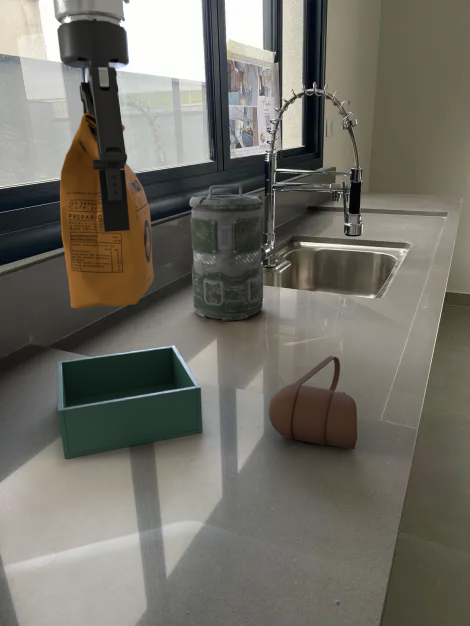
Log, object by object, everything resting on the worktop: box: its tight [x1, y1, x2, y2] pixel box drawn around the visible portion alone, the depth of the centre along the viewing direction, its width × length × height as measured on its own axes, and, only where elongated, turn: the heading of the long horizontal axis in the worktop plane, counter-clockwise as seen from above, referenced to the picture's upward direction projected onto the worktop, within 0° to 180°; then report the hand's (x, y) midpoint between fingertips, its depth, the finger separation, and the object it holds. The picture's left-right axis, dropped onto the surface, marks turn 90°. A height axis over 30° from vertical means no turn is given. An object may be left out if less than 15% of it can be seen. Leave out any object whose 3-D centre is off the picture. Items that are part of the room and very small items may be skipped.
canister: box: [189, 184, 264, 322], centre depth 109 cm, size 16×16×28 cm
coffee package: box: [59, 113, 155, 310], centre depth 61 cm, size 10×12×22 cm
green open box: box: [56, 345, 204, 460], centre depth 68 cm, size 17×15×6 cm
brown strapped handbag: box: [268, 355, 358, 450], centre depth 67 cm, size 18×12×7 cm, turn 157°
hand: (110, 223), depth 61 cm, fingers closed on coffee package, 12 cm apart
